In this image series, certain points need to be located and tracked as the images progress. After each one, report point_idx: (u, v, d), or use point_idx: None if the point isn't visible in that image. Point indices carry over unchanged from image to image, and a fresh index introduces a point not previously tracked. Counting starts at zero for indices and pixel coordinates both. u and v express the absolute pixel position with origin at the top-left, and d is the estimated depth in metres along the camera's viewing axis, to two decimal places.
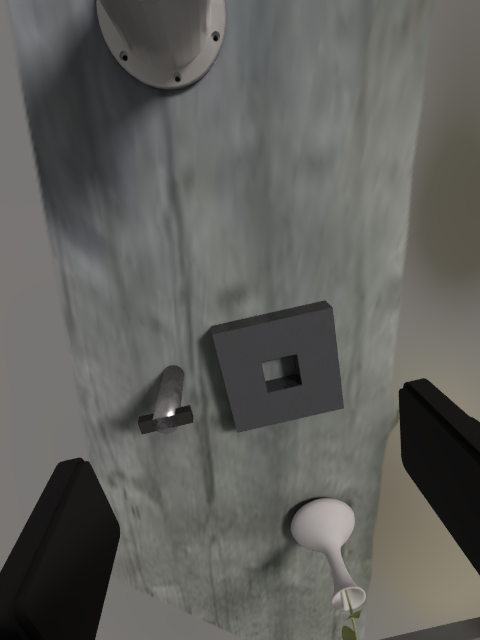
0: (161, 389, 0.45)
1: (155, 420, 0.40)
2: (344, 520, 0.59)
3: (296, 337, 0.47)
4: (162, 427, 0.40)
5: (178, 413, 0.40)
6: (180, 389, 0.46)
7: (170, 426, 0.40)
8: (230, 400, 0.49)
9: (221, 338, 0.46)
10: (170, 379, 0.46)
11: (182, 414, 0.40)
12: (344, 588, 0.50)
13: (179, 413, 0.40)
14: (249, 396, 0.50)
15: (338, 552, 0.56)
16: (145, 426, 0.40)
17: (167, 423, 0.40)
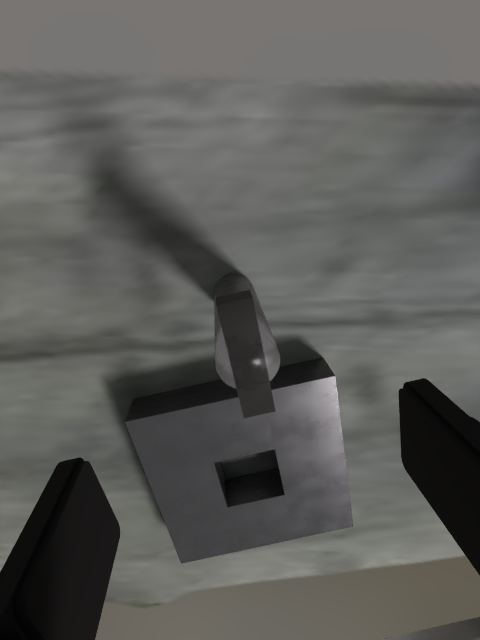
0: (258, 304, 0.21)
1: (256, 339, 0.16)
2: None
3: (312, 490, 0.30)
4: (234, 354, 0.16)
5: (270, 388, 0.17)
6: None
7: (236, 372, 0.16)
8: (199, 408, 0.26)
9: (326, 390, 0.27)
10: None
11: (268, 398, 0.17)
12: None
13: (270, 390, 0.17)
14: (206, 436, 0.27)
15: None
16: (240, 315, 0.15)
17: (244, 365, 0.16)
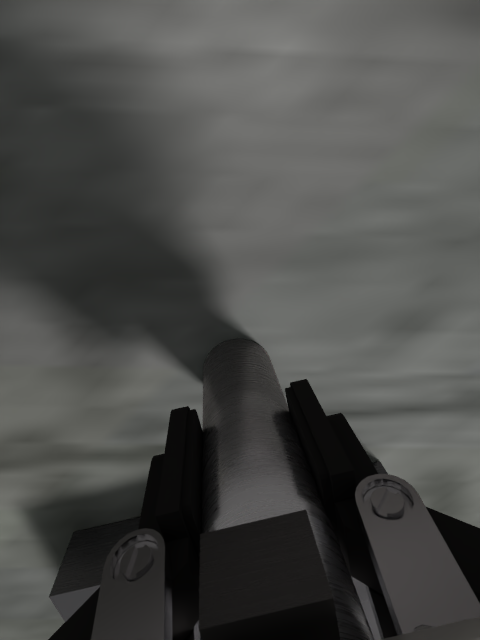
0: (294, 435, 0.10)
1: None
2: None
3: None
4: None
5: None
6: None
7: None
8: None
9: None
10: None
11: None
12: None
13: None
14: None
15: None
16: None
17: None
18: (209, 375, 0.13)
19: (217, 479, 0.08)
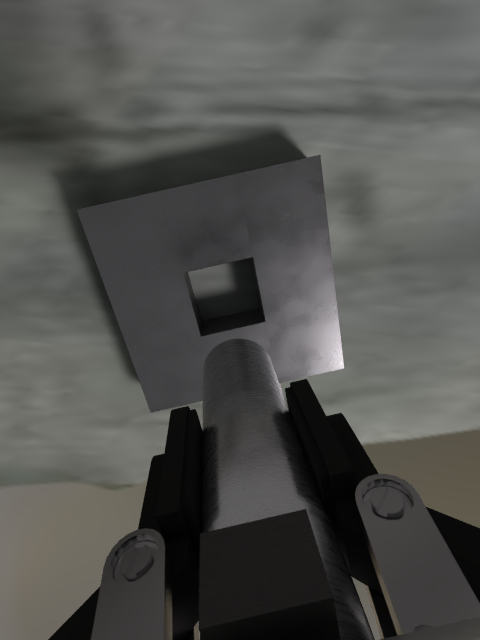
0: (294, 435, 0.10)
1: None
2: None
3: (297, 317, 0.27)
4: None
5: None
6: None
7: None
8: (163, 193, 0.23)
9: (310, 175, 0.23)
10: None
11: None
12: None
13: None
14: (173, 236, 0.24)
15: None
16: None
17: None
18: (209, 375, 0.13)
19: (217, 479, 0.08)
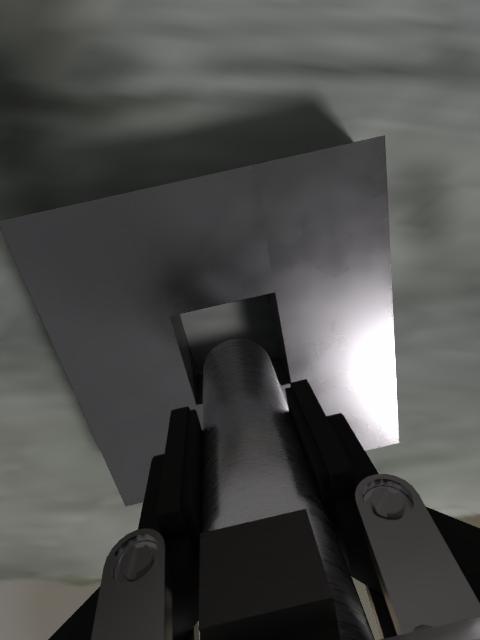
0: (294, 435, 0.10)
1: None
2: None
3: (337, 376, 0.18)
4: None
5: None
6: None
7: None
8: (136, 195, 0.14)
9: (367, 167, 0.15)
10: None
11: None
12: None
13: None
14: (153, 261, 0.15)
15: None
16: None
17: None
18: (209, 375, 0.13)
19: (217, 479, 0.08)
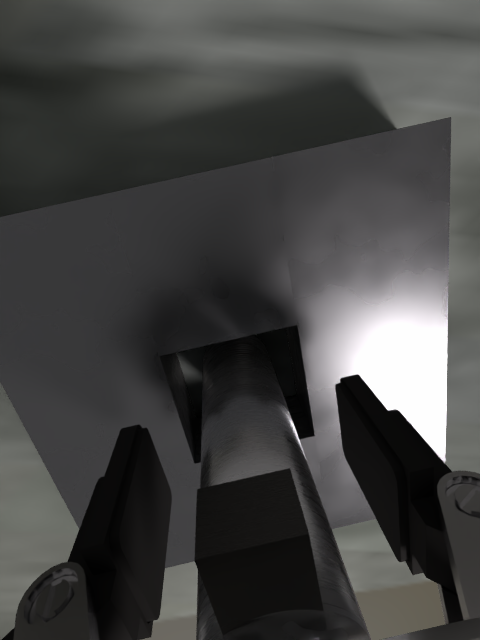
0: (287, 417, 0.11)
1: (313, 623, 0.06)
2: None
3: None
4: None
5: None
6: None
7: None
8: (112, 199, 0.10)
9: (425, 161, 0.11)
10: None
11: None
12: None
13: None
14: (137, 286, 0.12)
15: None
16: (269, 577, 0.05)
17: None
18: (208, 365, 0.14)
19: (214, 454, 0.09)
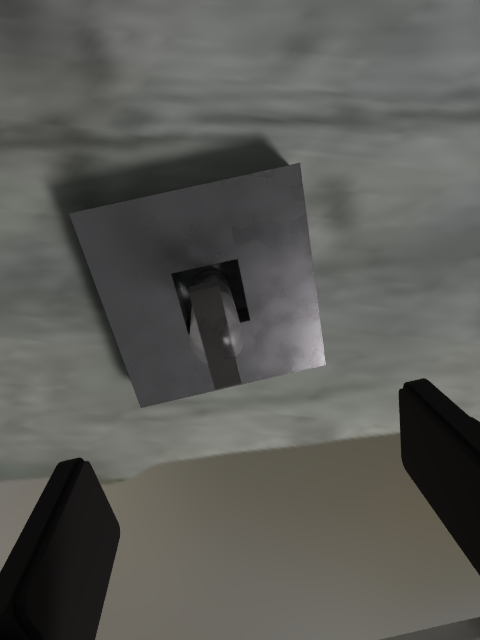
0: (229, 294, 0.24)
1: (223, 321, 0.19)
2: None
3: (280, 315, 0.28)
4: (205, 334, 0.19)
5: (236, 363, 0.20)
6: None
7: (207, 349, 0.20)
8: (151, 198, 0.24)
9: (290, 181, 0.24)
10: None
11: (234, 371, 0.20)
12: None
13: (236, 365, 0.20)
14: (161, 238, 0.25)
15: None
16: (209, 301, 0.19)
17: (214, 343, 0.19)
18: (195, 283, 0.27)
19: None
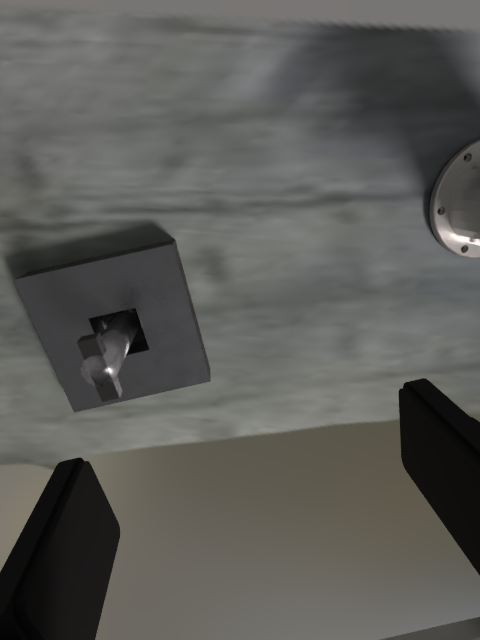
0: (124, 335, 0.35)
1: (101, 359, 0.30)
2: None
3: (171, 346, 0.39)
4: (90, 367, 0.30)
5: (114, 385, 0.31)
6: None
7: (93, 376, 0.30)
8: (70, 269, 0.35)
9: (167, 256, 0.35)
10: (132, 337, 0.37)
11: (113, 390, 0.31)
12: None
13: (115, 386, 0.31)
14: (79, 295, 0.36)
15: None
16: (90, 347, 0.29)
17: (97, 372, 0.30)
18: None
19: None
